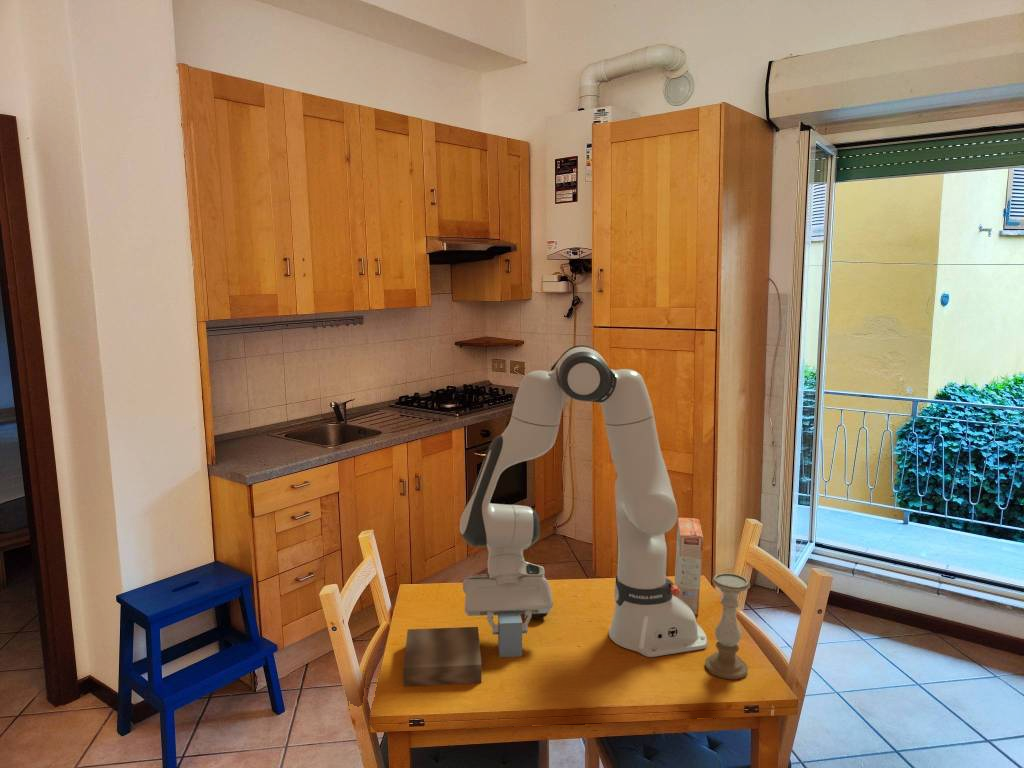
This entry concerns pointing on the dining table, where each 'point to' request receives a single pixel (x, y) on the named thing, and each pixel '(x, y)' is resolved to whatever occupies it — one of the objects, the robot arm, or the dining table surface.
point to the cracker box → (689, 561)
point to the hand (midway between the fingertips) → (510, 633)
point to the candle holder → (728, 629)
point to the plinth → (442, 656)
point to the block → (510, 634)
